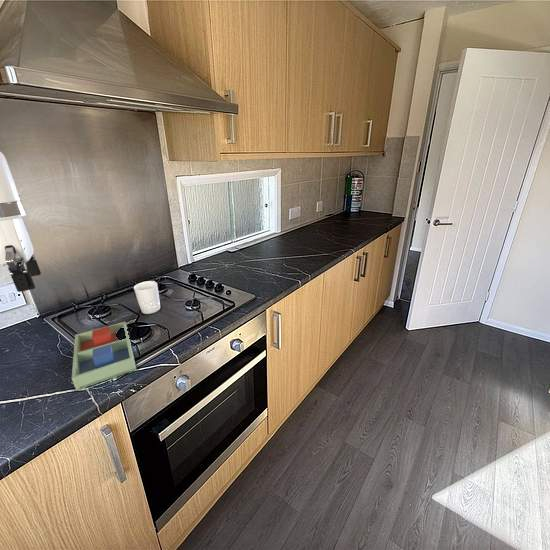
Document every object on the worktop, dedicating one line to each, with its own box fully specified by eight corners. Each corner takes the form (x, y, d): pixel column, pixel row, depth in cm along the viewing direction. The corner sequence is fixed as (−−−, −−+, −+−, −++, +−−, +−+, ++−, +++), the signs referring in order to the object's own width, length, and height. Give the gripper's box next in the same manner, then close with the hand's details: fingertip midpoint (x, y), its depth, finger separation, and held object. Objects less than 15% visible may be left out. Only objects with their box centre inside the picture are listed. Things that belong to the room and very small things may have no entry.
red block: (96, 350, 86) (92, 338, 84) (96, 342, 90) (92, 330, 88) (113, 345, 88) (109, 333, 86) (112, 338, 92) (108, 326, 90)
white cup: (161, 302, 114) (156, 279, 111) (162, 312, 108) (157, 287, 104) (140, 306, 112) (134, 283, 108) (139, 316, 105) (133, 291, 101)
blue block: (97, 371, 78) (92, 358, 76) (96, 362, 81) (92, 349, 79) (115, 365, 80) (111, 352, 78) (114, 356, 83) (110, 344, 81)
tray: (76, 390, 73) (71, 378, 71) (78, 345, 91) (75, 334, 89) (136, 369, 79) (133, 358, 78) (127, 331, 97) (125, 321, 95)
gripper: (-10, 207, 69) (17, 274, 75) (-35, 220, 55) (1, 300, 61) (30, 203, 72) (52, 268, 79) (15, 214, 58) (45, 292, 65)
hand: (30, 282), depth 70 cm, fingers open, 9 cm apart
